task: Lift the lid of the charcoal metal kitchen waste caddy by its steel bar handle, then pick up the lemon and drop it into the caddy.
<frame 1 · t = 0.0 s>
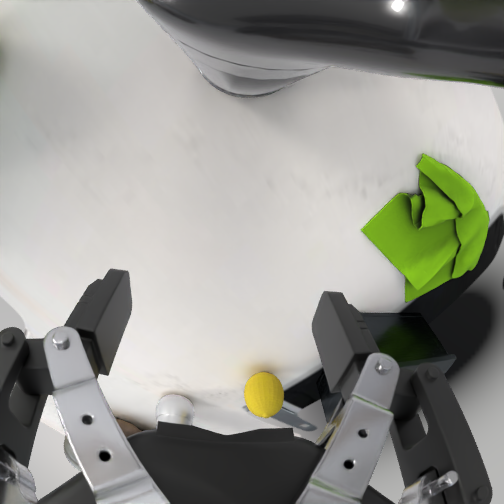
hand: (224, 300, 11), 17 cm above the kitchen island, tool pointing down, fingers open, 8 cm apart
silver bottle: (176, 398, 43), on the kitchen island
caddy lid: (397, 413, 28), point 12 cm above the kitchen island, hinge at 0.0°
gourd: (122, 430, 50), on the kitchen island
lemon: (261, 371, 40), on the kitchen island
caddy: (367, 351, 39), on the kitchen island
cloth: (435, 229, 30), on the kitchen island
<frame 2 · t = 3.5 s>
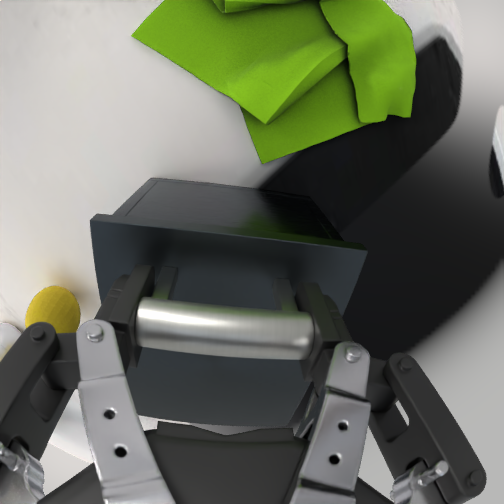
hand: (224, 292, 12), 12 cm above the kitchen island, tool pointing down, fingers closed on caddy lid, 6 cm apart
silver bottle: (16, 333, 28), on the kitchen island
caddy lid: (214, 387, 14), point 12 cm above the kitchen island, hinge at 0.0°, touching gripper
lemon: (69, 292, 25), on the kitchen island
caddy: (219, 271, 25), on the kitchen island
cloth: (284, 26, 16), on the kitchen island
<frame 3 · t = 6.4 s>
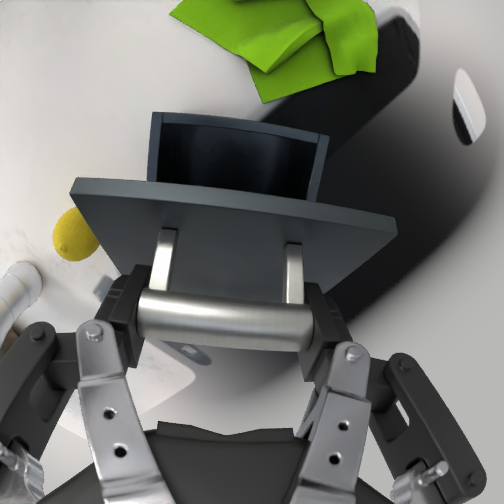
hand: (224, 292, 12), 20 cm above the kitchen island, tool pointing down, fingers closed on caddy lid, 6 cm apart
silver bottle: (32, 274, 33), on the kitchen island
caddy lid: (219, 314, 16), point 17 cm above the kitchen island, hinge at 38.1°, touching gripper
lemon: (94, 219, 30), on the kitchen island
caddy: (228, 190, 30), on the kitchen island
cloth: (278, 11, 21), on the kitchen island
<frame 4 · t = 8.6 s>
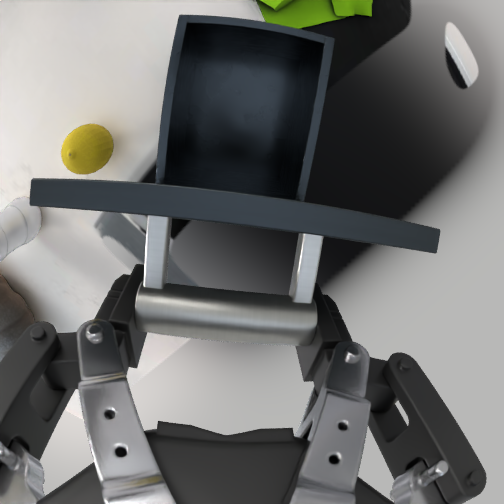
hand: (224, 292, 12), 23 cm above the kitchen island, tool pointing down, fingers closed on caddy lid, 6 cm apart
silver bottle: (32, 213, 32), on the kitchen island
caddy lid: (227, 243, 15), point 19 cm above the kitchen island, hinge at 72.9°, touching gripper
gourd: (5, 304, 39), on the kitchen island
lemon: (103, 143, 29), on the kitchen island
caddy: (240, 110, 28), on the kitchen island
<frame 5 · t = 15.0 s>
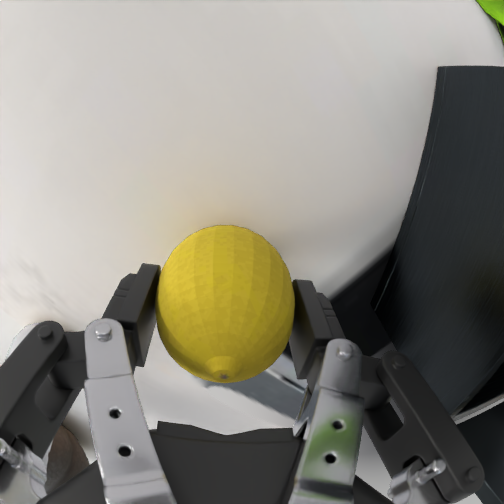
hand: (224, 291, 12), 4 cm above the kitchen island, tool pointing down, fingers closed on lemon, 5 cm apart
silver bottle: (58, 340, 18), on the kitchen island
gourd: (27, 411, 26), on the kitchen island
lemon: (226, 249, 15), on the kitchen island, touching gripper
caddy: (474, 212, 15), on the kitchen island
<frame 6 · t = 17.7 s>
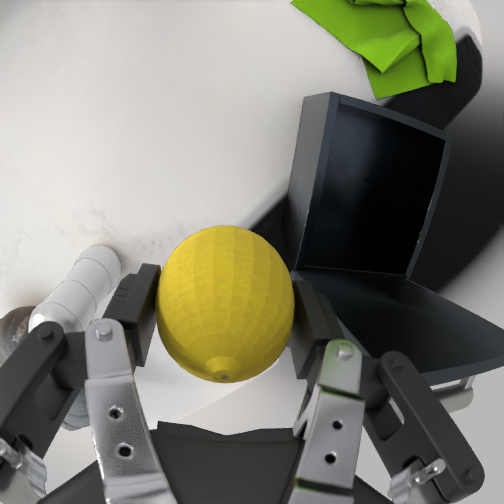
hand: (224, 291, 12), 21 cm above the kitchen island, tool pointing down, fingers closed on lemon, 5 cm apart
silver bottle: (105, 259, 35), on the kitchen island
caddy lid: (396, 338, 18), point 19 cm above the kitchen island, hinge at 71.9°, touching gripper, hand
gourd: (61, 340, 43), on the kitchen island
lemon: (226, 249, 15), point 18 cm above the kitchen island, touching gripper
caddy: (344, 174, 31), on the kitchen island
cloth: (384, 19, 21), on the kitchen island
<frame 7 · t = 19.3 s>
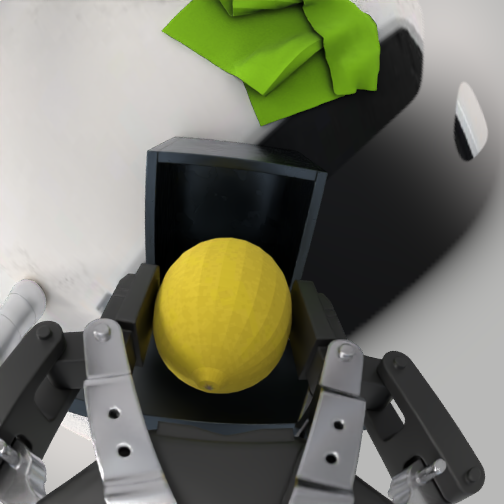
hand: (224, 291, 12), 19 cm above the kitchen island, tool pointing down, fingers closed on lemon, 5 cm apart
silver bottle: (35, 290, 34), on the kitchen island
caddy lid: (216, 393, 17), point 18 cm above the kitchen island, hinge at 57.6°
lemon: (234, 260, 15), point 16 cm above the kitchen island, touching gripper
caddy: (227, 214, 30), on the kitchen island
cloth: (276, 26, 21), on the kitchen island
when the fingers open (9 cm above the kitchen island, at t = 22.3 s): lemon drops 5 cm, resting on caddy.
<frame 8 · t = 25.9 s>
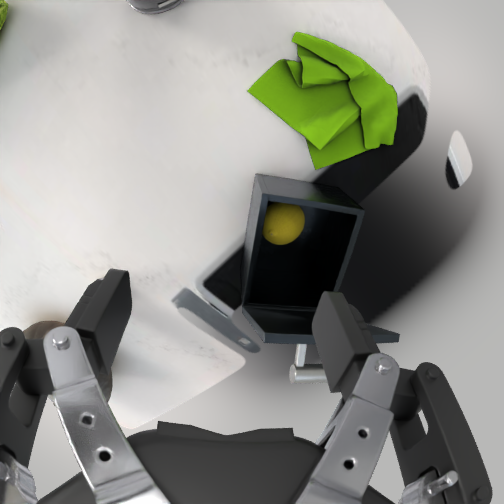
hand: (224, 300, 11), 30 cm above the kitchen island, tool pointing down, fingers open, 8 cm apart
caddy lid: (305, 341, 29), point 18 cm above the kitchen island, hinge at 57.6°
gourd: (72, 347, 54), on the kitchen island
lemon: (292, 210, 40), point 1 cm above the kitchen island, touching caddy
caddy: (288, 229, 43), on the kitchen island
cloth: (329, 95, 34), on the kitchen island
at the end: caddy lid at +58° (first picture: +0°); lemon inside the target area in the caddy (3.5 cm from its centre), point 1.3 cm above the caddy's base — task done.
